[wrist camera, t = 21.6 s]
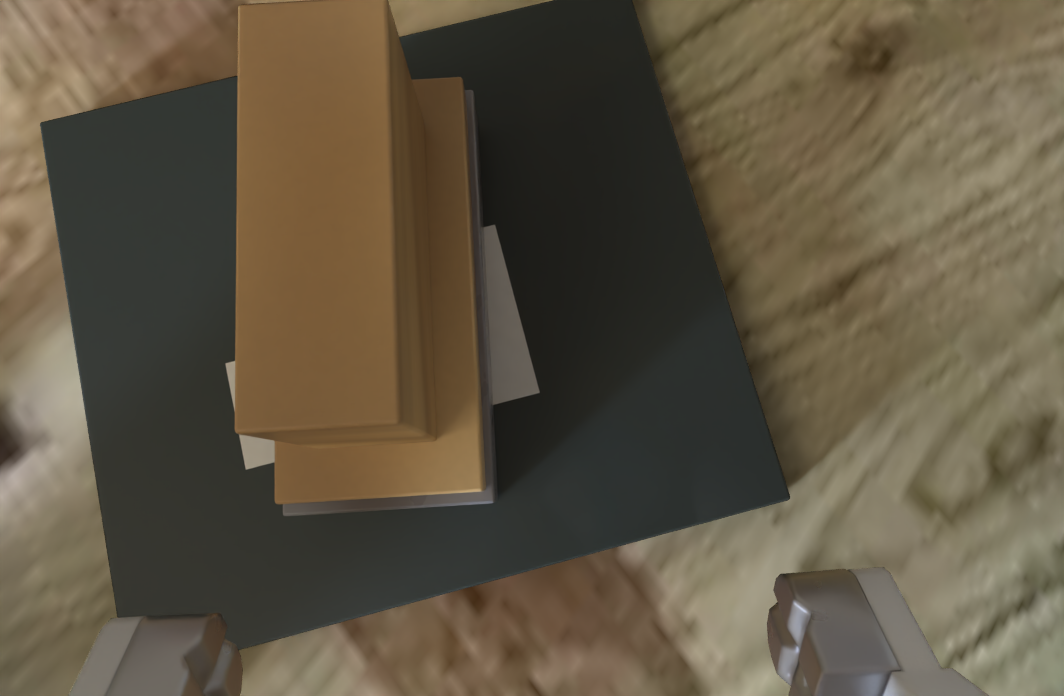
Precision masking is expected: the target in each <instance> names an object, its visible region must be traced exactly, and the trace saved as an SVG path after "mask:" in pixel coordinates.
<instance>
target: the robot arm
mask: <svg viewBox="0 0 1064 696" xmlns="http://www.w3.org/2000/svg"><path fill="white" fill-rule="evenodd" d="M774 593H775V596H776V598H777V601H778V602H777V603H776V604H775V605H774V606H773V607H771V608H770V609H769V615H768V621H767V631H768V643H769V648H770V652H771V657H772V660H773V663H774V666H775V670H776V673H777V674H778V675H779V676H780V677H781V678H782V679H783V680H784V681H786V682H787V683H788V684H789V685H790V686H791V688H790V692H789V696H989V695H987V694H986V693H985V692H983V691H982V690H981V689H979V688H978V687H977V686H975V685H974V684H973V683H971V682H970V681H969V680H968V679H966V678H965V677H964V676H962V675H961V674H960V673H958V672H957V671H956V670H954V669H953V668H941V666H940V664H939V662H938V660H937V659H936V657H935V655H934V653H933V651H932V649H931V647H930V646H929V644H928V642H927V640H926V638H925V636H924V635H923V633H922V631H921V629H920V627H919V625H918V623H917V622H916V620H915V618H914V616H913V614H912V612H911V611H910V609H909V607H908V605H907V603H906V601H905V599H904V598H903V596H902V594H901V592H900V590H899V588H898V587H897V585H896V583H895V581H894V579H893V577H892V575H891V574H890V573H889V572H888V571H887V570H886V569H885V568H884V567H873V568H861V569H849V570H846V569H835V570H823V571H811V572H798V573H786V574H780V575H779V576H778V577H777V578H776V581H775V585H774ZM227 627H228V626H227V624H226V622H225V620H224V619H223V617H222V615H221V613H202V614H181V615H160V616H137V617H121V618H111V619H110V620H109V621H108V622H107V623H106V624H105V625H104V626H103V627H102V629H101V630H100V632H99V634H98V636H97V638H96V640H95V642H94V644H93V646H92V648H91V650H90V652H89V654H88V656H87V658H86V660H85V662H84V664H83V667H82V669H81V671H80V673H79V675H78V677H77V679H76V681H75V683H74V685H73V687H72V689H71V691H70V693H69V695H68V696H240V693H241V685H242V672H243V669H242V662H241V656H240V653H239V651H238V648H237V646H236V645H235V644H234V643H232V642H230V641H228V640H227V639H225V638H224V636H225V633H226V630H227Z"/></svg>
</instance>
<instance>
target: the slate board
mask: <svg viewBox="0 0 1064 696" xmlns="http://www.w3.org/2000/svg"><path fill="white" fill-rule="evenodd" d="M399 39H400V42H401V46H402V49H403V52H404V56H405V59H406V63H407V66H408V69H409V73H410V76H411V79H412V80H416V79H433V78H451V77H461V78H462V79H463V83H464V89H465V90H472V91H473V92H474V98H475V104H476V111H477V118H478V130H479V149H480V167H481V186H482V205H483V224H484V243H485V261H486V280H487V299H488V318H489V337H490V355H491V374H492V393H493V412H494V431H495V449H496V468H497V487H498V500H497V501H496V502H494V503H489V504H473V505H457V506H442V507H426V508H410V509H394V510H379V511H363V512H347V513H331V514H316V515H300V516H284V515H283V504H276V503H275V441H274V440H268V439H262V438H257V437H251V436H246V435H240V434H237V433H236V432H235V331H236V214H237V97H238V76H234V77H230V78H226V79H221V80H217V81H213V82H209V83H205V84H200V85H196V86H192V87H188V88H184V89H179V90H175V91H171V92H167V93H163V94H158V95H154V96H150V97H146V98H142V99H137V100H133V101H129V102H125V103H121V104H116V105H112V106H108V107H104V108H100V109H95V110H91V111H87V112H83V113H79V114H74V115H70V116H66V117H62V118H57V119H53V120H49V121H45V122H41V123H40V127H41V133H42V140H43V146H44V152H45V159H46V165H47V171H48V178H49V184H50V191H51V197H52V203H53V210H54V216H55V222H56V229H57V235H58V241H59V248H60V254H61V261H62V267H63V273H64V280H65V286H66V292H67V299H68V305H69V312H70V318H71V324H72V331H73V337H74V343H75V350H76V356H77V363H78V369H79V375H80V382H81V388H82V394H83V401H84V407H85V414H86V420H87V426H88V433H89V439H90V445H91V452H92V458H93V464H94V471H95V477H96V484H97V490H98V496H99V503H100V509H101V515H102V522H103V528H104V535H105V541H106V547H107V554H108V560H109V566H110V573H111V579H112V586H113V592H114V598H115V605H116V611H117V617H118V618H121V617H137V616H160V615H181V614H202V613H221V615H222V617H223V619H224V620H225V622H226V624H227V626H228V627H227V630H226V633H225V636H224V638H225V639H227V640H228V641H230V642H232V643H234V644H235V645H236V646H237V648H238V650H241V649H244V648H248V647H252V646H255V645H259V644H263V643H266V642H270V641H274V640H277V639H281V638H285V637H288V636H292V635H296V634H299V633H303V632H307V631H310V630H314V629H318V628H321V627H325V626H329V625H332V624H336V623H340V622H343V621H347V620H351V619H354V618H358V617H362V616H365V615H369V614H373V613H376V612H380V611H384V610H387V609H391V608H395V607H398V606H402V605H406V604H409V603H413V602H417V601H420V600H424V599H428V598H431V597H435V596H439V595H442V594H446V593H450V592H453V591H457V590H461V589H464V588H468V587H472V586H475V585H479V584H483V583H486V582H490V581H494V580H497V579H501V578H505V577H508V576H512V575H516V574H519V573H523V572H527V571H530V570H534V569H538V568H541V567H545V566H549V565H552V564H556V563H560V562H563V561H567V560H571V559H574V558H578V557H582V556H585V555H589V554H593V553H596V552H600V551H604V550H607V549H611V548H615V547H618V546H622V545H626V544H629V543H633V542H637V541H640V540H644V539H648V538H651V537H655V536H659V535H662V534H666V533H670V532H673V531H677V530H681V529H684V528H688V527H692V526H695V525H699V524H703V523H706V522H710V521H714V520H717V519H721V518H725V517H728V516H732V515H736V514H739V513H743V512H747V511H750V510H754V509H758V508H761V507H765V506H769V505H772V504H776V503H780V502H783V501H787V500H789V499H790V494H789V491H788V488H787V485H786V482H785V479H784V476H783V472H782V469H781V466H780V463H779V460H778V457H777V454H776V450H775V447H774V444H773V441H772V438H771V435H770V432H769V429H768V425H767V422H766V419H765V416H764V413H763V410H762V407H761V403H760V400H759V397H758V394H757V391H756V388H755V385H754V381H753V378H752V375H751V372H750V369H749V366H748V363H747V360H746V356H745V353H744V350H743V347H742V344H741V341H740V338H739V334H738V331H737V328H736V325H735V322H734V319H733V316H732V312H731V309H730V306H729V303H728V300H727V297H726V294H725V291H724V287H723V284H722V281H721V278H720V275H719V272H718V269H717V265H716V262H715V259H714V256H713V253H712V250H711V247H710V243H709V240H708V237H707V234H706V231H705V228H704V225H703V222H702V218H701V215H700V212H699V209H698V206H697V203H696V200H695V196H694V193H693V190H692V187H691V184H690V181H689V178H688V174H687V171H686V168H685V165H684V162H683V159H682V156H681V153H680V149H679V146H678V143H677V140H676V137H675V134H674V131H673V127H672V124H671V121H670V118H669V115H668V112H667V109H666V105H665V102H664V99H663V96H662V93H661V90H660V87H659V84H658V80H657V77H656V74H655V71H654V68H653V65H652V62H651V58H650V55H649V52H648V49H647V46H646V43H645V40H644V36H643V33H642V30H641V27H640V24H639V21H638V18H637V14H636V11H635V8H634V5H633V2H632V0H553V1H549V2H545V3H541V4H536V5H532V6H528V7H524V8H520V9H515V10H511V11H507V12H503V13H499V14H494V15H490V16H486V17H482V18H478V19H473V20H469V21H465V22H461V23H457V24H452V25H448V26H444V27H440V28H436V29H431V30H427V31H423V32H419V33H415V34H410V35H406V36H402V37H399Z"/></svg>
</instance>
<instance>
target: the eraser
mask: <svg viewBox="0 0 1064 696" xmlns="http://www.w3.org/2000/svg"><path fill="white" fill-rule="evenodd" d="M235 432H236V433H237V434H240V435H246V436H251V437H257V438H262V439H268V440H274V441H275V503H276V504H283V515H284V516H300V515H316V514H331V513H347V512H363V511H379V510H394V509H410V508H426V507H442V506H457V505H473V504H489V503H494V502H496V501H497V500H498V487H497V468H496V449H495V431H494V412H493V393H492V374H491V355H490V337H489V318H488V299H487V280H486V261H485V243H484V224H483V205H482V186H481V167H480V149H479V130H478V118H477V111H476V104H475V98H474V92H473V91H472V90H465V89H464V83H463V79H462V78H461V77H451V78H433V79H416V80H412V79H411V76H410V73H409V69H408V66H407V63H406V59H405V56H404V52H403V49H402V46H401V42H400V39H399V36H398V32H397V29H396V26H395V22H394V19H393V15H392V12H391V9H390V5H389V2H388V0H312V1H294V2H276V3H258V4H242V5H239V7H238V97H237V214H236V331H235Z"/></svg>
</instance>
